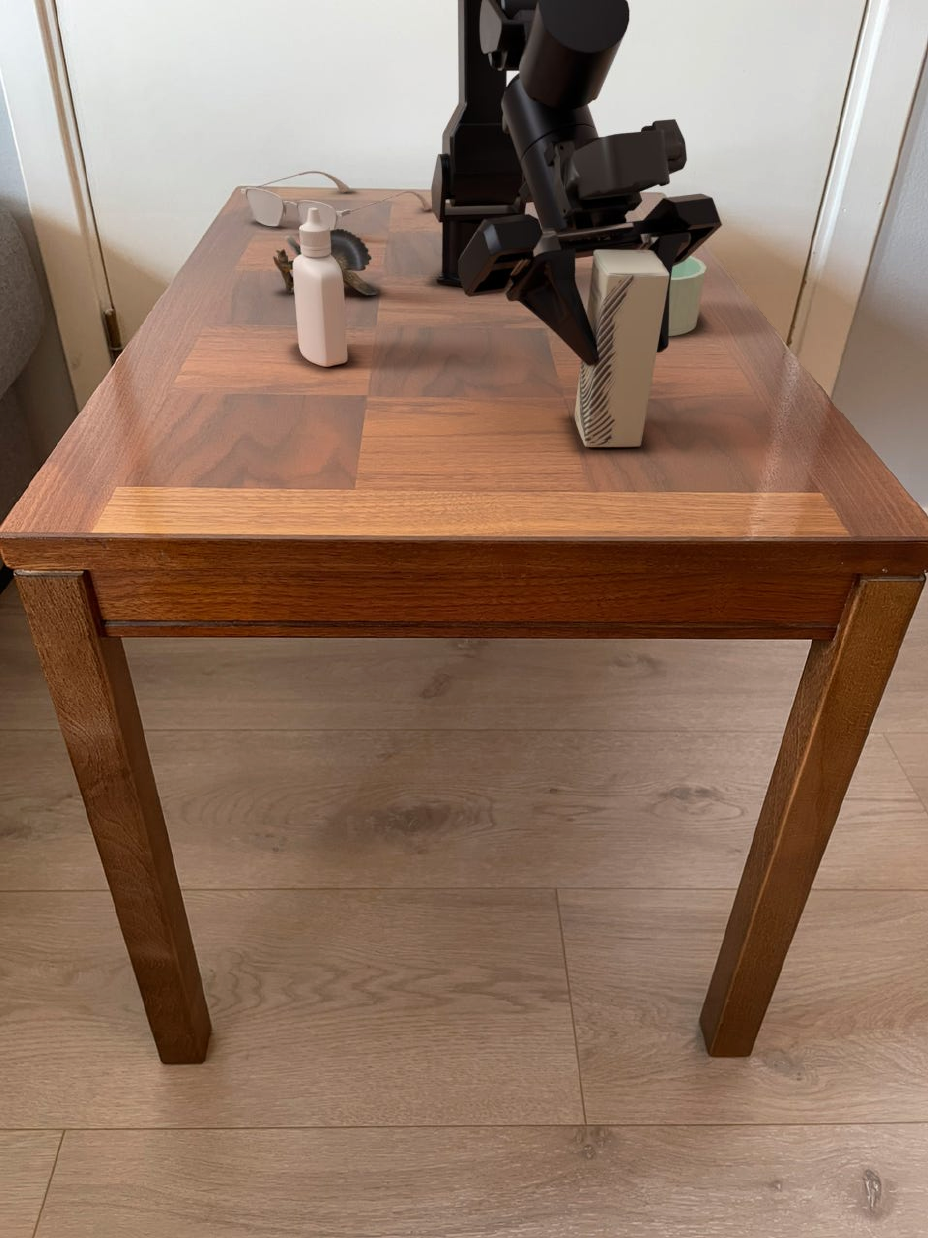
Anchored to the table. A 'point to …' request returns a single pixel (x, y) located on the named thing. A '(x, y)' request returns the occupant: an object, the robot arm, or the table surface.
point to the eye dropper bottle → (319, 296)
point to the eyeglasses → (301, 204)
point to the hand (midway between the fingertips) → (628, 356)
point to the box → (621, 346)
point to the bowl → (685, 295)
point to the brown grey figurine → (343, 250)
